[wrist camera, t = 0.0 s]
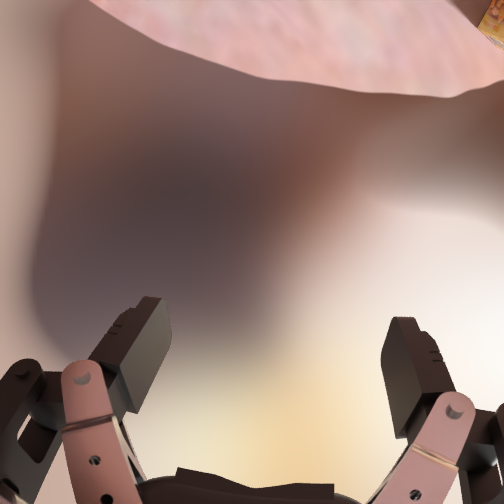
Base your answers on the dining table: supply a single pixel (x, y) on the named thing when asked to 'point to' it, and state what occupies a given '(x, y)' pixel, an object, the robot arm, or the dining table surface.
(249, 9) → the dining table surface
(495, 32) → the candy box
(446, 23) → the dining table surface
